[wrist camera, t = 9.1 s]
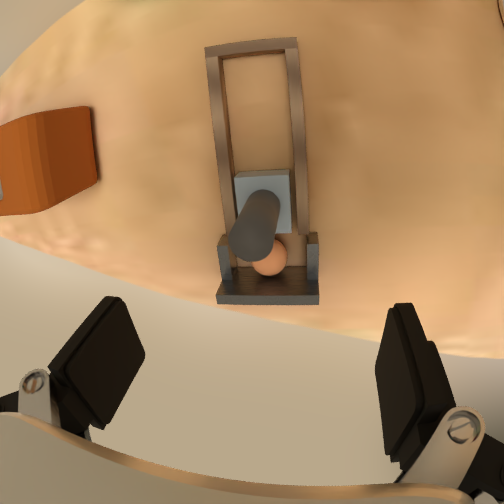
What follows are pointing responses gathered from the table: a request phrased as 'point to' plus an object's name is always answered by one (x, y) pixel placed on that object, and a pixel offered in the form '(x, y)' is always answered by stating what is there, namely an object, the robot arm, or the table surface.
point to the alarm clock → (45, 159)
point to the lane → (222, 121)
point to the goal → (268, 280)
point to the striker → (260, 212)
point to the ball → (272, 261)
